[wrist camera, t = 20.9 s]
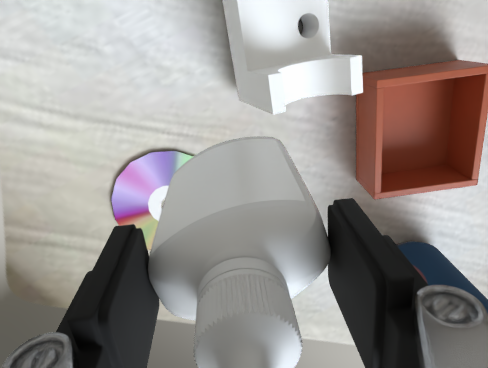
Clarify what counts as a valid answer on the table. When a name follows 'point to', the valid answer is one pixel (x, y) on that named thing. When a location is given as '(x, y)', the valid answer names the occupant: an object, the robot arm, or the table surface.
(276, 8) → the bracket
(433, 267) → the soda can
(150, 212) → the cd
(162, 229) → the eye dropper bottle
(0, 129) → the table surface
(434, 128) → the terracotta bin
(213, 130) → the table surface
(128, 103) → the table surface
